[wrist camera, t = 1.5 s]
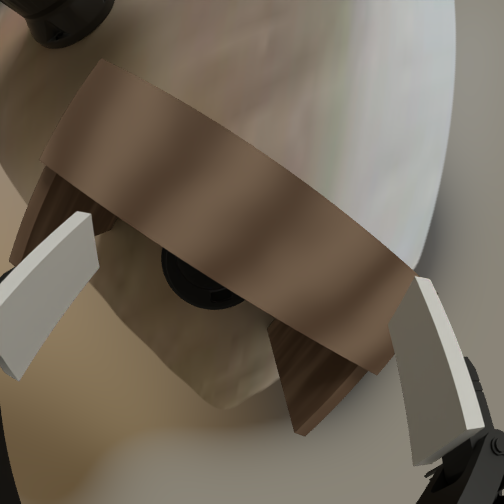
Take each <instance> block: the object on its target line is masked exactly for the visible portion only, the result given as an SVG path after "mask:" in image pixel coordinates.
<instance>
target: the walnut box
mask: <svg viewBox="0 0 504 504" xmlns="http://www.w3.org/2000/svg"><path fill="white" fill-rule="evenodd" d="M39 161H41V162H42V163H43V164H45V165H46V166H45V168H44V170H43V172H42V174H41V177H40V179H39V181H38V183H37V185H36V188H35V190H34V192H33V195H32V197H31V199H30V202H29V204H28V207H27V209H26V212H25V214H24V217H23V220H22V222H21V226H20V228H19V231H18V234H17V237H16V240H15V243H14V246H13V249H12V252H11V255H10V258H9V262H11V263H12V264H13V265H14V266H15V267H17V266H18V265H19V264H20V263H21V262H22V261H23V260H24V259H25V258H26V257H27V256H28V255H29V254H30V253H31V252H32V251H33V250H34V249H35V248H36V247H37V246H38V245H39V244H40V243H41V242H43V241H44V240H45V239H46V238H47V237H48V236H49V235H50V234H51V233H52V232H54V231H55V230H56V229H57V228H58V227H59V226H60V225H61V224H63V223H64V222H65V221H66V220H67V219H68V218H70V217H71V216H72V215H73V214H74V213H76V212H77V211H79V212H84V213H90V214H91V216H92V224H93V231H94V236H96V235H99V234H101V233H104V232H106V231H109V230H111V228H112V226H113V224H114V222H115V220H116V219H117V217H119V218H120V219H122V220H123V221H125V222H126V223H128V224H129V225H130V226H132V227H133V228H135V229H136V230H138V231H139V232H141V233H142V234H144V235H145V236H147V237H148V238H150V239H151V240H153V241H154V242H156V243H157V244H159V245H160V246H162V247H163V248H165V249H166V250H168V251H169V252H171V253H172V254H174V255H176V256H177V257H179V258H180V259H182V260H183V261H185V262H186V263H188V264H189V265H191V266H192V267H194V268H196V269H197V270H199V271H200V272H202V273H203V274H205V275H207V276H208V277H210V278H211V279H213V280H215V281H216V282H218V283H219V284H221V285H222V286H224V287H226V288H227V289H229V290H231V291H232V292H234V293H235V294H237V295H239V296H240V297H242V298H243V299H245V300H247V301H248V302H250V303H252V304H253V305H255V306H257V307H258V308H260V309H262V310H263V311H265V312H267V313H268V314H270V315H272V316H273V317H275V320H274V321H273V322H272V323H271V325H270V326H269V327H268V329H267V331H268V335H269V338H270V342H271V346H272V350H273V354H274V357H275V361H276V365H277V369H278V373H279V376H280V380H281V384H282V388H283V391H284V395H285V399H286V402H287V406H288V410H289V414H290V417H291V421H292V425H293V429H294V432H295V433H297V434H300V435H302V436H306V435H307V434H308V433H309V432H310V431H311V430H312V429H313V428H314V427H316V426H317V425H318V424H319V423H320V422H321V421H322V420H323V419H324V418H325V417H326V416H327V415H328V414H329V413H330V412H331V411H332V410H333V409H334V408H335V406H337V405H338V403H339V402H340V401H341V400H342V399H343V398H344V397H345V396H346V395H347V394H348V393H349V392H350V391H351V390H352V388H353V387H354V386H355V385H356V384H357V383H358V382H359V381H360V380H361V378H362V377H363V376H364V375H365V374H366V373H367V372H368V371H370V372H372V373H374V374H375V375H378V374H379V372H380V371H381V370H382V369H383V368H384V366H385V365H386V364H387V363H388V362H389V360H390V359H391V358H392V357H393V355H394V354H395V353H394V348H393V344H392V340H391V335H390V331H389V327H388V323H389V322H390V320H391V318H392V317H393V315H394V313H395V312H396V310H397V308H398V306H399V305H400V303H401V301H402V299H403V297H404V296H405V294H406V292H407V290H408V288H409V286H410V284H411V282H412V281H413V279H414V277H415V276H417V277H420V276H419V275H417V274H416V273H415V272H414V271H413V270H412V269H411V268H410V267H409V266H408V265H406V264H405V263H404V262H403V261H402V260H401V259H400V258H398V257H397V256H396V255H395V254H394V253H393V252H392V251H390V250H389V249H388V248H387V247H386V246H385V245H383V244H382V243H381V242H380V241H379V240H377V239H376V238H375V237H374V236H373V235H371V234H370V233H369V232H368V231H367V230H365V229H364V228H363V227H362V226H360V225H359V224H358V223H357V222H356V221H354V220H353V219H352V218H351V217H349V216H348V215H347V214H345V213H344V212H343V211H342V210H340V209H339V208H338V207H337V206H335V205H334V204H333V203H331V202H330V201H329V200H327V199H326V198H325V197H324V196H322V195H321V194H320V193H318V192H317V191H316V190H314V189H313V188H312V187H310V186H309V185H308V184H306V183H305V182H303V181H302V180H301V179H299V178H298V177H297V176H295V175H294V174H292V173H291V172H290V171H288V170H287V169H285V168H284V167H283V166H281V165H280V164H278V163H277V162H275V161H274V160H273V159H271V158H270V157H268V156H267V155H265V154H264V153H262V152H261V151H260V150H258V149H257V148H255V147H254V146H252V145H251V144H249V143H248V142H246V141H245V140H243V139H242V138H240V137H239V136H237V135H235V134H234V133H232V132H231V131H229V130H228V129H226V128H225V127H223V126H221V125H220V124H218V123H217V122H215V121H213V120H212V119H210V118H209V117H207V116H205V115H204V114H202V113H200V112H199V111H197V110H196V109H194V108H192V107H191V106H189V105H187V104H185V103H184V102H182V101H180V100H179V99H177V98H175V97H173V96H172V95H170V94H168V93H166V92H165V91H163V90H161V89H159V88H158V87H156V86H154V85H152V84H150V83H149V82H147V81H145V80H143V79H141V78H139V77H137V76H136V75H134V74H132V73H130V72H128V71H126V70H124V69H122V68H120V67H118V66H116V65H114V64H112V63H110V62H108V61H106V60H104V59H102V58H101V59H100V60H99V62H98V63H97V64H96V66H95V67H94V68H93V70H92V71H91V73H90V74H89V75H88V77H87V78H86V80H85V81H84V83H83V84H82V86H81V87H80V89H79V90H78V92H77V93H76V95H75V96H74V98H73V99H72V101H71V103H70V104H69V106H68V108H67V109H66V111H65V113H64V114H63V116H62V118H61V119H60V121H59V123H58V125H57V126H56V128H55V130H54V132H53V134H52V135H51V137H50V139H49V141H48V143H47V145H46V147H45V149H44V151H43V153H42V155H41V157H40V159H39ZM436 293H437V292H436ZM437 295H438V293H437Z"/></svg>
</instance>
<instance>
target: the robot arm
mask: <svg viewBox="0 0 504 504" xmlns="http://www.w3.org/2000/svg"><path fill="white" fill-rule="evenodd" d="M114 1H115V0H0V2H2V3H3V4H5V5H6V6H8V7H9V8H11V9H12V10H14V11H15V12H17V13H18V14H20V15H21V16H22V17H24V18H25V20H26V22H27V25H28V27H29V29H30V31H31V34H32V36H33V37H34V39H35V40H36V41H37V42H39V43H40V44H41V45H43V46H45V47H47V48H53V49H54V48H62V47H66V46H69V45H71V44H73V43H75V42H77V41H79V40H81V39H82V38H84V37H85V36H87V35H88V34H89V33H91V32H92V31H93V30H94V29H95V28H96V27H97V26H98V25H99V24H100V23H101V22H102V21H103V20H104V19H105V18H106V16H107V15H108V13H109V12H110V10H111V8H112V6H113V4H114ZM99 268H100V267H99V262H98V256H97V251H96V244H95V238H94V231H93V224H92V216H91V214H90V213H84V212H79V211H77V212H76V213H74V214H73V215H72V216H71V217H70V218H68V219H67V220H66V221H65V222H64V223H63V224H61V225H60V226H59V227H58V228H57V229H56V230H55V231H54V232H52V233H51V234H50V235H49V236H48V237H47V238H46V239H45V240H44V241H43V242H41V243H40V244H39V245H38V246H37V247H36V248H35V249H34V250H33V251H32V252H31V253H30V254H29V255H28V256H27V257H26V258H25V259H24V260H23V261H22V262H21V263H20V264H19V265H18V266H17V267H14V268H12V269H11V270H9V271H8V272H6V273H4V274H3V275H2V276H1V277H0V366H1V368H2V369H3V371H4V372H5V373H6V374H8V375H9V376H11V377H12V378H14V379H16V380H17V381H20V379H21V377H22V376H23V374H24V373H25V371H26V369H27V368H28V366H29V365H30V363H31V361H32V360H33V358H34V357H35V355H36V354H37V352H38V351H39V349H40V347H41V346H42V345H43V343H44V342H45V340H46V339H47V337H48V336H49V334H50V333H51V331H52V330H53V329H54V327H55V326H56V324H57V323H58V321H59V320H60V319H61V317H62V315H63V314H64V313H65V312H66V310H67V309H68V308H69V306H70V305H71V304H72V302H73V301H74V299H75V298H76V297H77V295H78V294H79V293H80V292H81V290H82V289H83V288H84V286H85V285H86V284H87V283H88V281H89V280H90V279H91V278H92V276H93V275H94V274H95V272H96V271H97V270H98V269H99ZM388 327H389V331H390V335H391V340H392V344H393V348H394V353H395V357H396V361H397V366H398V371H399V376H400V381H401V386H402V391H403V397H404V403H405V409H406V415H407V422H408V428H409V436H410V443H411V451H412V460H413V466H419V465H427V464H432V463H433V462H435V461H437V460H438V459H440V458H441V457H442V461H443V464H441V465H440V466H438V467H436V468H434V469H433V470H431V471H429V472H428V473H427V474H426V475H425V476H424V477H426V478H427V477H429V476H430V475H432V474H434V475H433V477H432V478H431V479H429V480H430V482H429V484H428V485H427V487H426V489H425V491H424V492H423V494H422V495H421V497H420V498H419V500H418V501H417V503H416V504H504V496H502V490H503V489H504V432H503V431H501V430H498V429H494V426H493V423H492V420H491V416H490V413H489V409H488V406H487V402H486V399H485V396H484V393H483V392H482V390H483V389H482V386H481V384H480V383H479V378H478V375H477V372H476V369H475V367H474V366H473V364H472V363H471V361H470V360H469V359H468V357H463V355H462V352H461V350H460V347H459V344H458V342H457V339H456V337H455V335H454V332H453V329H452V327H451V325H450V322H449V320H448V318H447V315H446V313H445V311H444V308H443V306H442V304H441V302H440V300H439V297H438V295H437V293H436V291H435V289H434V287H433V285H432V283H431V280H430V279H426V278H422V277H417V276H415V277H414V279H413V281H412V282H411V284H410V286H409V288H408V290H407V292H406V294H405V296H404V297H403V299H402V301H401V303H400V305H399V306H398V308H397V310H396V312H395V313H394V315H393V317H392V318H391V320H390V322H389V323H388ZM0 504H21V501H20V498H19V495H18V492H17V488H16V485H15V481H14V478H13V474H12V470H11V466H10V461H9V457H8V452H7V447H6V442H5V436H4V430H3V423H2V416H1V408H0Z"/></svg>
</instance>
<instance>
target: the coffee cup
mask: <svg viewBox="0 0 504 504" xmlns="http://www.w3.org/2000/svg"><path fill="white" fill-rule="evenodd" d="M161 262H162V268H163V272H164V275H165V278H166V280H167V282H168V284H169V285H170V287H171V288H172V290H173V291H174V292H175V293H176V294H177V295H178V296H179V297H180V298H182V299H183V300H184V301H186V302H187V303H189V304H191V305H194V306H196V307H199V308H203V309H210V310H219V309H226V308H229V307H232V306H235V305H237V304H239V303H241V302H243V301H244V300H245V299H243V298H242V297H240V296H239V295H237V294H235V293H234V292H232V291H231V290H229V289H227V288H226V287H224V286H222V285H221V284H219V283H218V282H216V281H215V280H213V279H211V278H210V277H208V276H207V275H205V274H203V273H202V272H200V271H199V270H197V269H196V268H194V267H192V266H191V265H189V264H188V263H186V262H185V261H183V260H182V259H180V258H179V257H177V256H176V255H174V254H172V253H171V252H169V251H168V250H166V249H165V248H163V247H162V254H161Z"/></svg>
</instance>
